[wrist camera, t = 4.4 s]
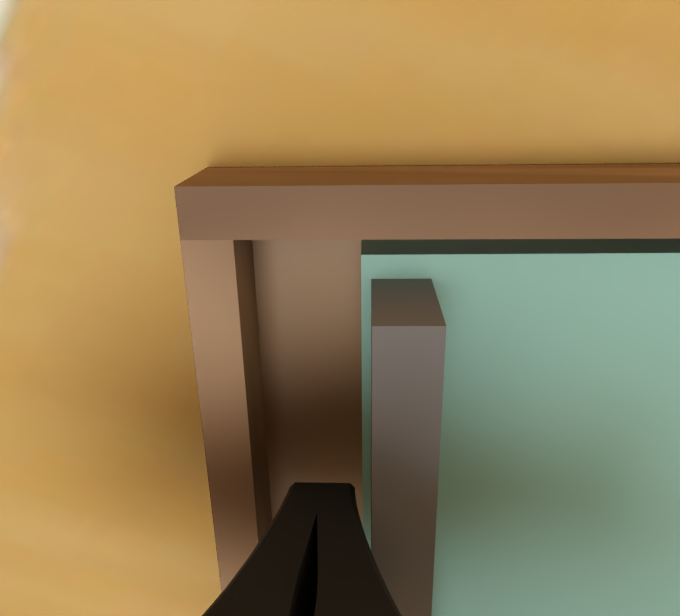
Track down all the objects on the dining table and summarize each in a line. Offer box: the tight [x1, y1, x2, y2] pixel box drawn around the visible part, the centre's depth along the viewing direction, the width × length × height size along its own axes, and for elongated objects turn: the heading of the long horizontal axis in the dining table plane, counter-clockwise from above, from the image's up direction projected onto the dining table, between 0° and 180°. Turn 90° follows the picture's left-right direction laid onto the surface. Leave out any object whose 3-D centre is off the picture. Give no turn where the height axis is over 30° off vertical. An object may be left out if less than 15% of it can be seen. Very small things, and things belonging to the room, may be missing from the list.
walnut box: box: [174, 163, 680, 592], centre depth 14 cm, size 14×15×2 cm
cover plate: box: [361, 238, 680, 616], centre depth 13 cm, size 11×13×4 cm
